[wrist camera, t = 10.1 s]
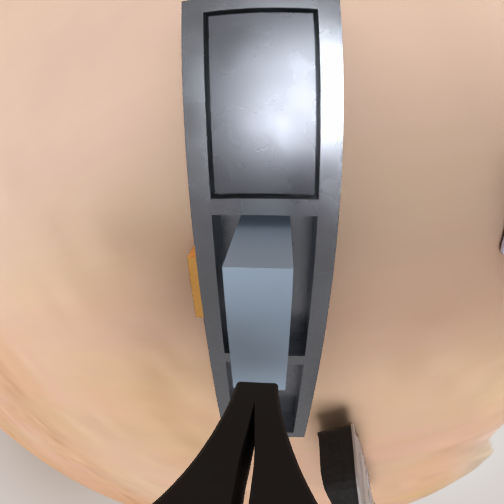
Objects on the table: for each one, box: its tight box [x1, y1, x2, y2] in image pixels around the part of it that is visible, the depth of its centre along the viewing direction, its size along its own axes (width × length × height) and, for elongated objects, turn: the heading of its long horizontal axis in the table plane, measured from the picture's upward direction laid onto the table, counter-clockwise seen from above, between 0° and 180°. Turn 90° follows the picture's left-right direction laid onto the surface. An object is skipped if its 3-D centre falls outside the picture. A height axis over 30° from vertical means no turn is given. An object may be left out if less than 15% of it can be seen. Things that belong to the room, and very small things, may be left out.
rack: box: [182, 0, 344, 437], centre depth 18 cm, size 8×30×3 cm, turn 1°
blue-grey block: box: [222, 215, 293, 390], centre depth 15 cm, size 3×7×6 cm, turn 1°
